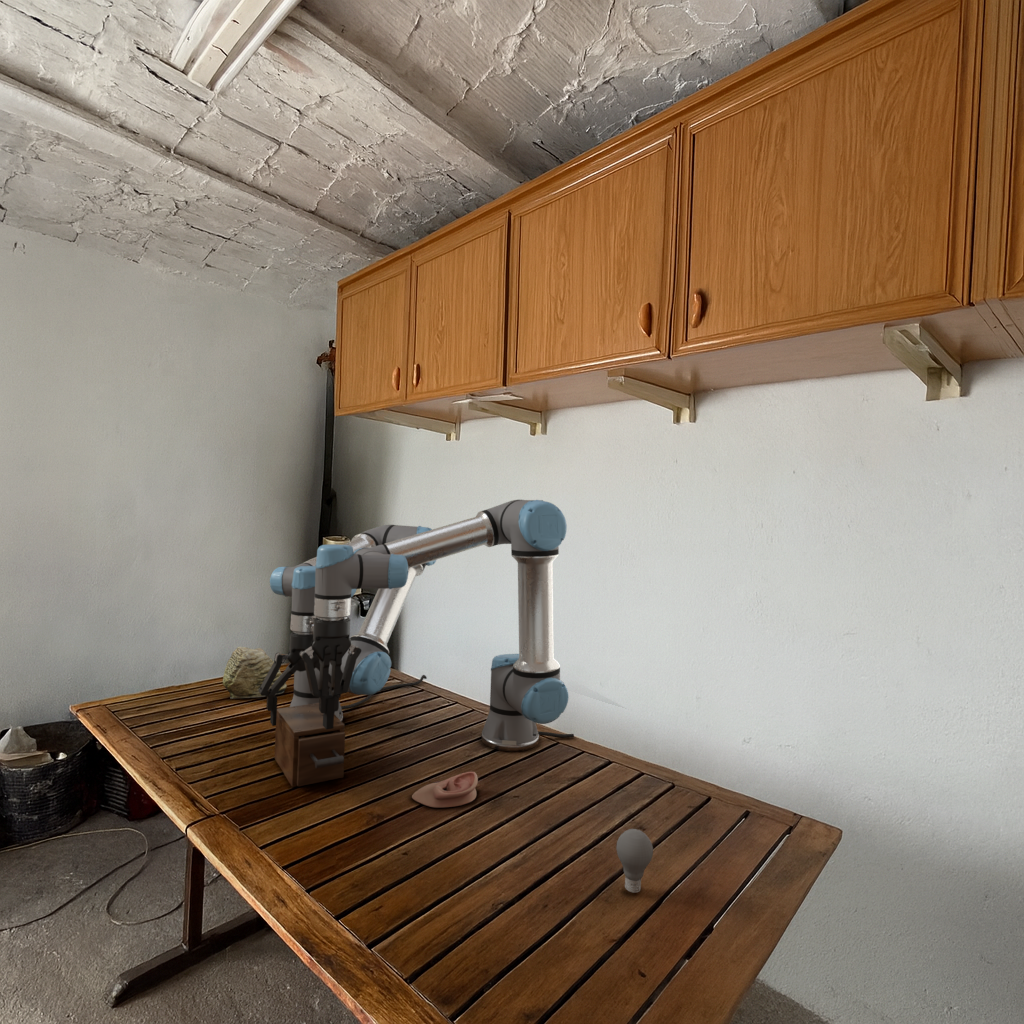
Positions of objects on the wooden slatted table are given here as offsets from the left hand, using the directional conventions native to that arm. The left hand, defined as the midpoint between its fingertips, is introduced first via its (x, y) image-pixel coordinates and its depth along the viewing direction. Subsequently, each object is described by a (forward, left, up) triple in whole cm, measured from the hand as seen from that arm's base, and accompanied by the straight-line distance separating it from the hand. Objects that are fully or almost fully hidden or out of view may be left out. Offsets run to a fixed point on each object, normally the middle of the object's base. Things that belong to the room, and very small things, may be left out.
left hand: (302, 720), depth 151 cm
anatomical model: (-11, +38, -10) cm, 40 cm away
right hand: (+6, +18, +5) cm, 20 cm away
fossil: (-17, -53, -10) cm, 56 cm away
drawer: (+3, +11, -9) cm, 14 cm away
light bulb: (-8, +84, -10) cm, 85 cm away
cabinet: (+1, +5, -10) cm, 11 cm away
